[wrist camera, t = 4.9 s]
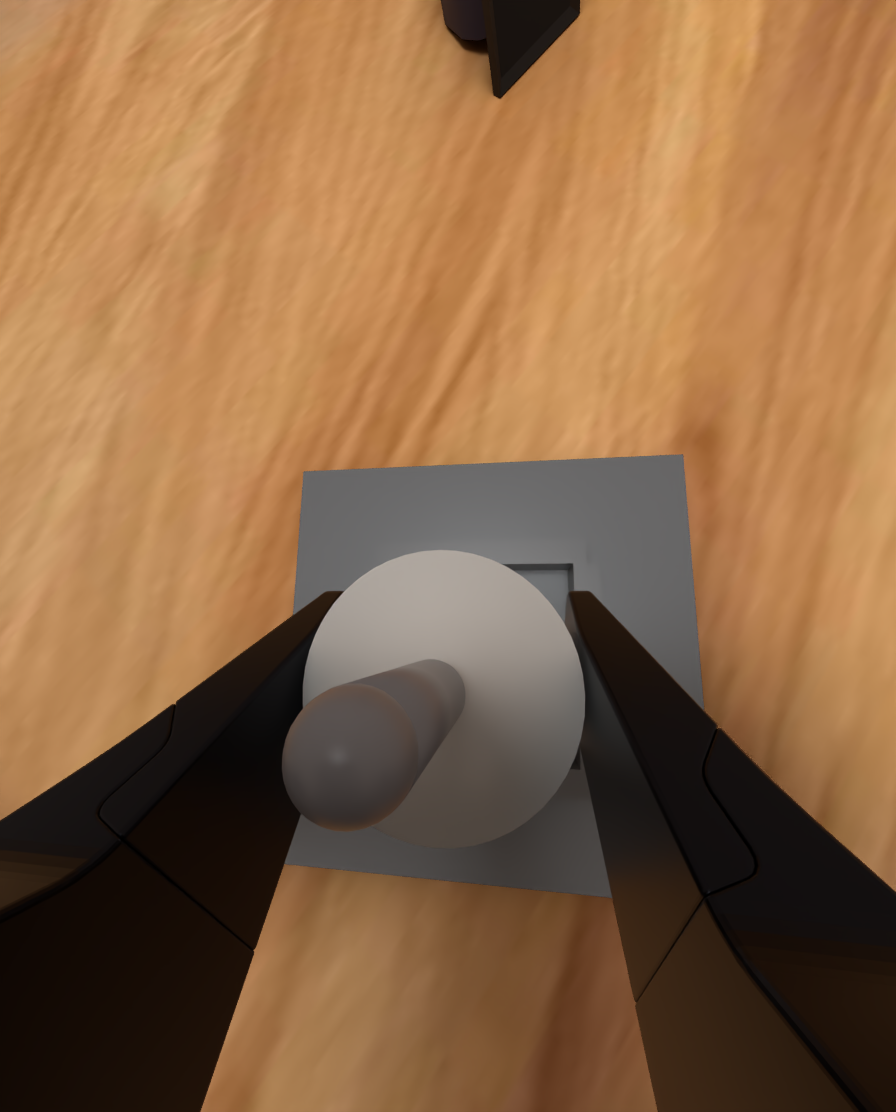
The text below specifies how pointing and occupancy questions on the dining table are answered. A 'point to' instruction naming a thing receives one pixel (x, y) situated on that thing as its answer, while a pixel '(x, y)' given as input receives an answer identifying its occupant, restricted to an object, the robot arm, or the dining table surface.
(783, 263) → the dining table surface
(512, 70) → the speaker
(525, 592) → the plug
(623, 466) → the dock
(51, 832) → the robot arm
